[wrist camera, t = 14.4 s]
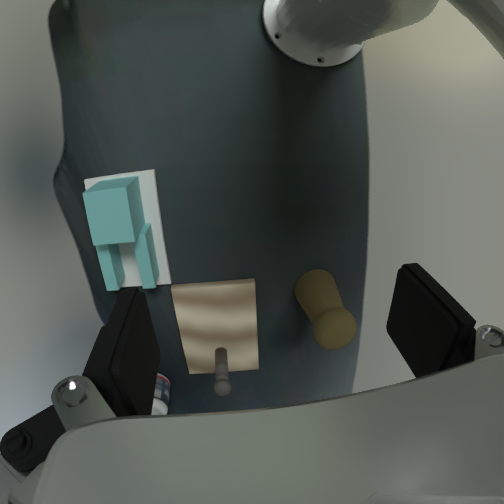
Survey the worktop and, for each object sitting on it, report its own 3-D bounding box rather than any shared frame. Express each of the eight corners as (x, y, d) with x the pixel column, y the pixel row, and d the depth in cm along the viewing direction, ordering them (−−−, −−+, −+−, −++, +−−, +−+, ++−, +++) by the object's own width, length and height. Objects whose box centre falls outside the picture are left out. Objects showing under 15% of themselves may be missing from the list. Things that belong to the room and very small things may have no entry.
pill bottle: (169, 393, 52) (165, 433, 44) (140, 388, 51) (133, 428, 43) (171, 374, 50) (167, 416, 42) (140, 368, 49) (132, 410, 41)
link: (94, 181, 35) (77, 193, 30) (144, 174, 35) (132, 186, 30) (114, 276, 41) (102, 299, 36) (159, 273, 41) (152, 296, 36)
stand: (172, 284, 43) (162, 329, 34) (254, 278, 43) (263, 322, 35) (189, 368, 49) (187, 415, 41) (257, 363, 50) (265, 409, 42)
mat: (85, 179, 35) (84, 180, 35) (154, 169, 36) (153, 170, 35) (109, 285, 42) (108, 287, 41) (171, 281, 42) (170, 283, 42)
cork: (322, 310, 47) (346, 360, 37) (286, 299, 45) (304, 352, 35) (342, 276, 45) (373, 322, 35) (305, 263, 43) (330, 311, 33)
